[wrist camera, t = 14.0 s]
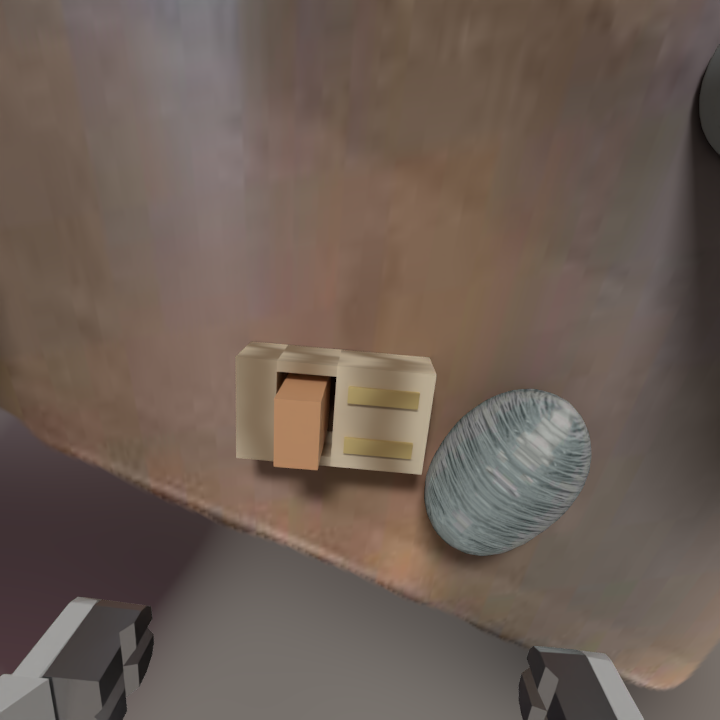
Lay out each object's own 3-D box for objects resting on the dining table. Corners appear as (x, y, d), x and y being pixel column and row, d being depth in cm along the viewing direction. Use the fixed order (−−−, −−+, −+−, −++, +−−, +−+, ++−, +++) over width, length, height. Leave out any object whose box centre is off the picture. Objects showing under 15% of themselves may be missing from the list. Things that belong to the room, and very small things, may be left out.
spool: (487, 567, 35) (499, 613, 26) (403, 483, 38) (385, 497, 28) (599, 447, 35) (652, 447, 26) (506, 371, 38) (523, 346, 28)
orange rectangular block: (292, 420, 35) (273, 466, 29) (294, 363, 34) (274, 398, 27) (328, 423, 35) (317, 470, 29) (331, 366, 34) (320, 402, 27)
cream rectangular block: (250, 432, 36) (235, 459, 32) (251, 341, 33) (234, 358, 29) (416, 447, 36) (422, 476, 31) (429, 357, 33) (437, 376, 29)
